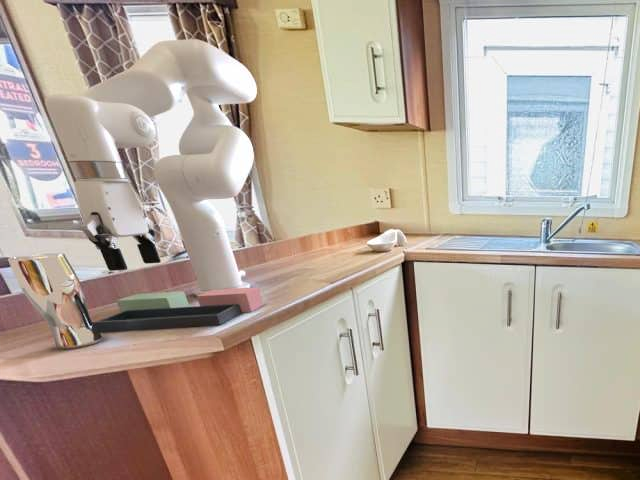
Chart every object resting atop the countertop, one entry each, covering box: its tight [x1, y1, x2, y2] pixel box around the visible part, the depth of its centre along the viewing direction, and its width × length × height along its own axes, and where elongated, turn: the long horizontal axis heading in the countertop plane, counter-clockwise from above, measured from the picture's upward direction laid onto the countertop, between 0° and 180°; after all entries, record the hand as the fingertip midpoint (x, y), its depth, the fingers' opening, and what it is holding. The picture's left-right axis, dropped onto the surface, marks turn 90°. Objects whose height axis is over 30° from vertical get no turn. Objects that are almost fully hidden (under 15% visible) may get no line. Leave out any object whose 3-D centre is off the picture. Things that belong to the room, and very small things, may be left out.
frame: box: [92, 304, 243, 333], centre depth 85 cm, size 9×23×2 cm, turn 95°
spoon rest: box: [366, 229, 408, 253], centre depth 177 cm, size 24×12×7 cm, turn 168°
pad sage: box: [115, 291, 190, 312], centre depth 91 cm, size 6×10×4 cm, turn 95°
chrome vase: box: [7, 252, 104, 350], centre depth 71 cm, size 7×7×15 cm
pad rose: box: [196, 286, 264, 313], centre depth 92 cm, size 6×10×4 cm, turn 95°
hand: (136, 266), depth 87 cm, fingers open, 9 cm apart
